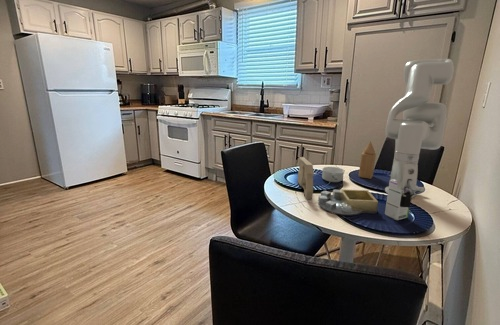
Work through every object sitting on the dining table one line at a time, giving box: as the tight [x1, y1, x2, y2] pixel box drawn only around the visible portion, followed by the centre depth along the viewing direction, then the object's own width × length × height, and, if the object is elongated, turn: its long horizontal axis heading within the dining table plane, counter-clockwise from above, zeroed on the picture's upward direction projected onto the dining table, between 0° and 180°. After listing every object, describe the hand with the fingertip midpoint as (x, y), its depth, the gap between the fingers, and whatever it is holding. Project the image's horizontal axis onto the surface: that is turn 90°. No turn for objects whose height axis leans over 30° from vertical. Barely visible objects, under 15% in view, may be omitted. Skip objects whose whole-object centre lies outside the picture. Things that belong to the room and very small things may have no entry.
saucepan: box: [321, 166, 345, 183], centre depth 137 cm, size 12×20×6 cm, turn 168°
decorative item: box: [358, 141, 377, 179], centre depth 144 cm, size 7×7×20 cm
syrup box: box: [384, 179, 410, 221], centre depth 100 cm, size 6×6×14 cm
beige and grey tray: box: [317, 188, 379, 217], centre depth 109 cm, size 21×18×5 cm
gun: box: [297, 156, 315, 200], centre depth 125 cm, size 24×3×15 cm, turn 179°
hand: (398, 201), depth 100 cm, fingers open, 9 cm apart
